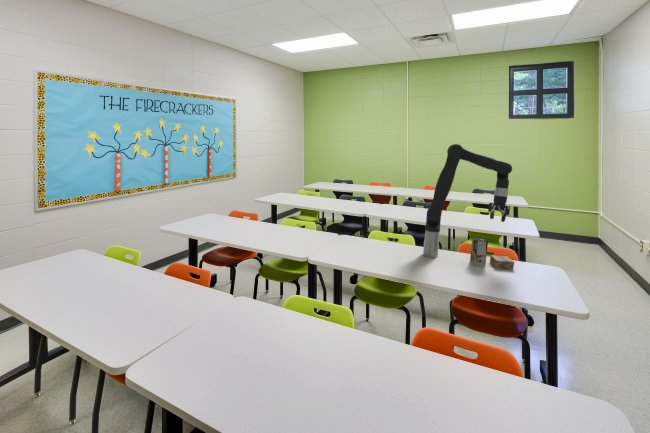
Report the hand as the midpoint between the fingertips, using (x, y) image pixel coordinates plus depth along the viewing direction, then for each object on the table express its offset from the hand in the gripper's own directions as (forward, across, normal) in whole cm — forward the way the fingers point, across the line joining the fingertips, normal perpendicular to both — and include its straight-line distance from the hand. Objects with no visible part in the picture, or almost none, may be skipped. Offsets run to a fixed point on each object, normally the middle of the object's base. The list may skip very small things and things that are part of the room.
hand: (497, 220), depth 222 cm
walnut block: (+27, +10, -2) cm, 29 cm away
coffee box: (+28, +3, -14) cm, 31 cm away
